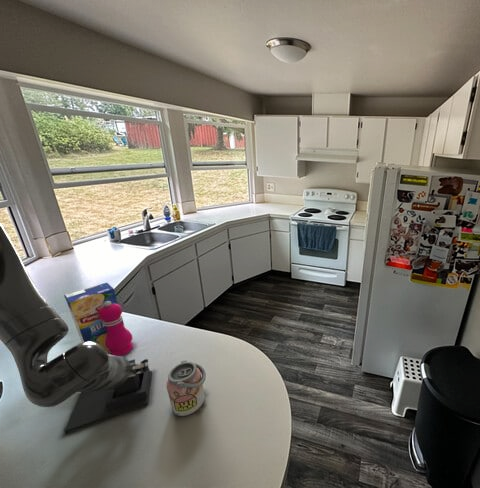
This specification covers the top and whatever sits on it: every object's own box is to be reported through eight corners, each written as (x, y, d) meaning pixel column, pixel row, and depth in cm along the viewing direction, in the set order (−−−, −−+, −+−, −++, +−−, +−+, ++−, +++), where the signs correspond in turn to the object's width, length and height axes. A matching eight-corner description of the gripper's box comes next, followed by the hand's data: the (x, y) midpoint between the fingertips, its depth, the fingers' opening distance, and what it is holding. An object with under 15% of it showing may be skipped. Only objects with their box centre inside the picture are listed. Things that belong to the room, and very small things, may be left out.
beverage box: (84, 350, 87) (63, 295, 79) (122, 333, 95) (107, 282, 88) (90, 359, 83) (69, 302, 76) (129, 340, 92) (113, 288, 84)
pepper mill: (140, 345, 90) (126, 297, 83) (119, 360, 83) (103, 309, 76) (124, 341, 91) (110, 293, 85) (103, 355, 85) (86, 305, 78)
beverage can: (210, 385, 75) (205, 354, 71) (208, 411, 68) (203, 378, 64) (175, 395, 72) (167, 363, 68) (169, 423, 65) (161, 389, 61)
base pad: (65, 433, 62) (60, 424, 60) (81, 394, 71) (78, 385, 70) (147, 404, 69) (145, 395, 68) (152, 372, 79) (150, 364, 78)
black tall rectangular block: (119, 401, 69) (110, 377, 66) (122, 388, 73) (114, 364, 69) (139, 394, 71) (132, 370, 68) (141, 382, 75) (134, 358, 72)
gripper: (142, 346, 62) (156, 351, 76) (64, 366, 56) (95, 368, 70) (144, 378, 59) (158, 378, 73) (62, 403, 53) (95, 397, 67)
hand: (127, 373), depth 71 cm, fingers open, 5 cm apart
